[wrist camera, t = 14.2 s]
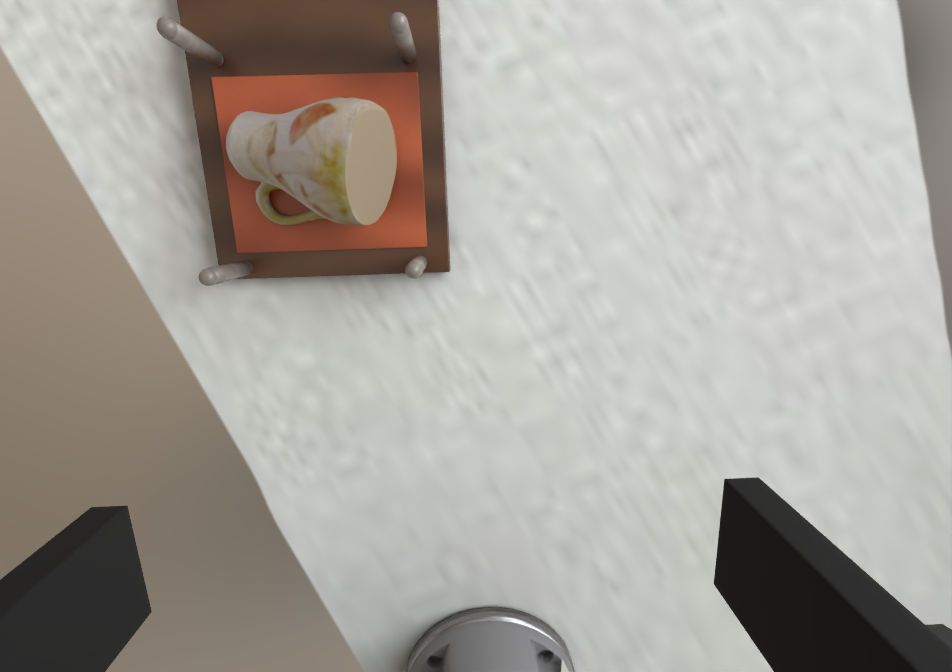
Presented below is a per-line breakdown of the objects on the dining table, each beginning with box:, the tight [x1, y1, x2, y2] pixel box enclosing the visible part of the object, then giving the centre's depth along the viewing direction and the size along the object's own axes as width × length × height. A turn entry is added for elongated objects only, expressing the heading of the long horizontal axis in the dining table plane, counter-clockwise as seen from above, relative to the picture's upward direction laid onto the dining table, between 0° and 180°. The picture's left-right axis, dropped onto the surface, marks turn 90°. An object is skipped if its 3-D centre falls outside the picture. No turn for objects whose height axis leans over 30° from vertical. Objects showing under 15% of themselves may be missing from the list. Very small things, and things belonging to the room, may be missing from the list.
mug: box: [226, 97, 397, 226], centre depth 30 cm, size 8×10×10 cm
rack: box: [157, 0, 450, 286], centre depth 29 cm, size 28×16×8 cm, turn 2°
